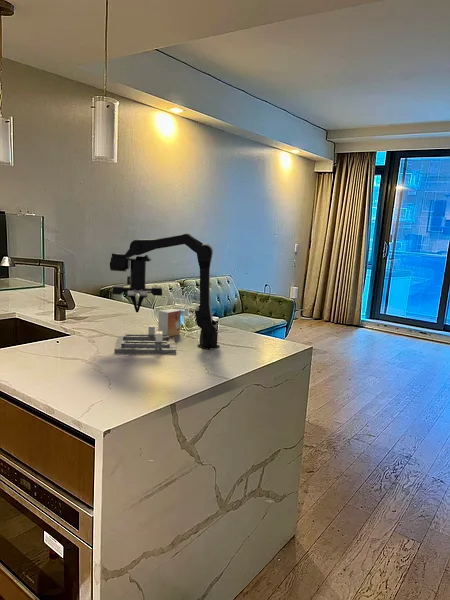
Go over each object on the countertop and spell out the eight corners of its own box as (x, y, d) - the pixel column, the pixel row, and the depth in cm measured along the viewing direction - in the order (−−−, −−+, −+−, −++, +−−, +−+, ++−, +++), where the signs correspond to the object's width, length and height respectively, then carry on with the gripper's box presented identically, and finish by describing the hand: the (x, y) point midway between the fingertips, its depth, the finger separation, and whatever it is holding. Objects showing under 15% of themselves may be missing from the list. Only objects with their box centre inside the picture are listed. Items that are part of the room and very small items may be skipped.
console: (173, 339, 186) (173, 333, 185) (175, 353, 167) (176, 346, 167) (118, 339, 182) (118, 332, 182) (114, 353, 164) (114, 346, 163)
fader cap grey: (154, 337, 182) (154, 324, 181) (154, 339, 179) (154, 326, 178) (148, 337, 181) (148, 324, 181) (148, 339, 178) (148, 326, 177)
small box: (167, 337, 189) (167, 312, 187) (157, 334, 192) (158, 310, 190) (180, 334, 195) (181, 310, 193) (170, 331, 198) (171, 308, 196)
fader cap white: (161, 344, 173) (162, 331, 172) (162, 346, 169) (162, 333, 168) (155, 344, 172) (155, 331, 171) (155, 346, 169) (155, 333, 168)
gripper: (162, 270, 184) (160, 308, 187) (114, 268, 181) (114, 307, 184) (162, 274, 173) (161, 314, 176) (112, 272, 170) (111, 313, 173)
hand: (137, 312), depth 177 cm, fingers closed
